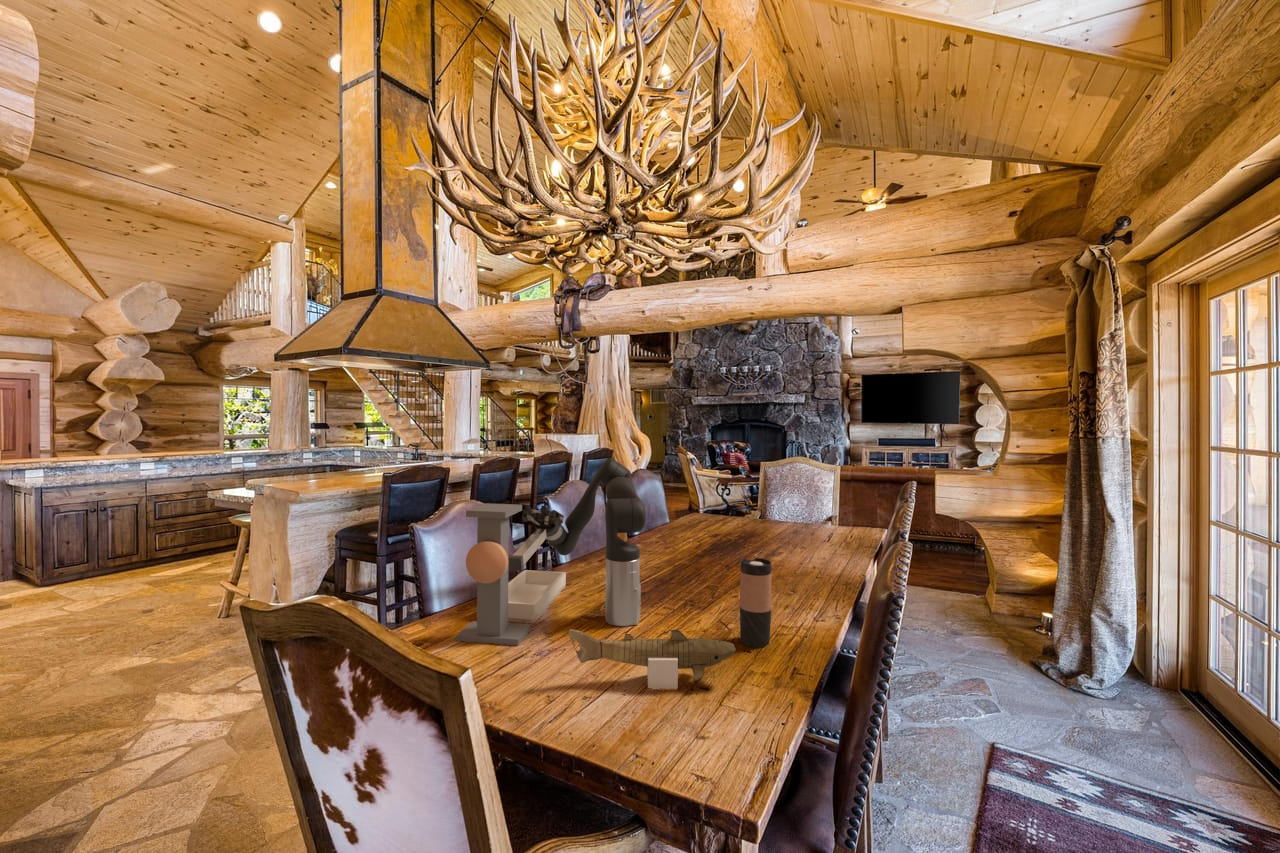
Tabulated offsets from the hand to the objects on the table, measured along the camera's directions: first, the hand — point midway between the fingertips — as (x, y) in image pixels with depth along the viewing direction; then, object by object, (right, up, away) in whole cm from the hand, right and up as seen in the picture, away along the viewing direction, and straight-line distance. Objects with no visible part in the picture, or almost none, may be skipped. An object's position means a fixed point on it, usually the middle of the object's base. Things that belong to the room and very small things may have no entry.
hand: (534, 508), depth 161 cm
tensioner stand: (-4, -28, -28) cm, 40 cm away
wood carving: (+35, -29, -51) cm, 68 cm away
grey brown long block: (-1, -13, -4) cm, 13 cm away
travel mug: (+61, -29, -30) cm, 74 cm away
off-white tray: (-1, -27, -4) cm, 28 cm away
